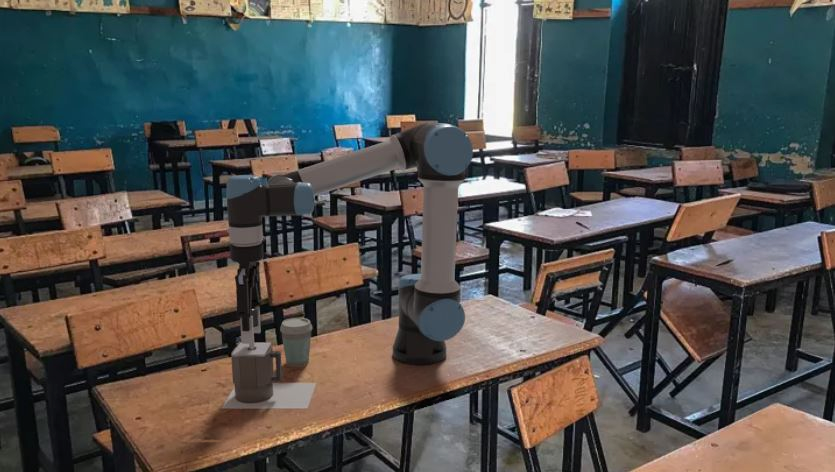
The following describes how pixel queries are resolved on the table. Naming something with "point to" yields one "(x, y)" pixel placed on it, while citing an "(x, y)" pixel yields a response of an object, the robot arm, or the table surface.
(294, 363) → the coffee cup
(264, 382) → the grey french press
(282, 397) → the mat
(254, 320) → the plunger
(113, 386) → the table surface
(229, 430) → the table surface
